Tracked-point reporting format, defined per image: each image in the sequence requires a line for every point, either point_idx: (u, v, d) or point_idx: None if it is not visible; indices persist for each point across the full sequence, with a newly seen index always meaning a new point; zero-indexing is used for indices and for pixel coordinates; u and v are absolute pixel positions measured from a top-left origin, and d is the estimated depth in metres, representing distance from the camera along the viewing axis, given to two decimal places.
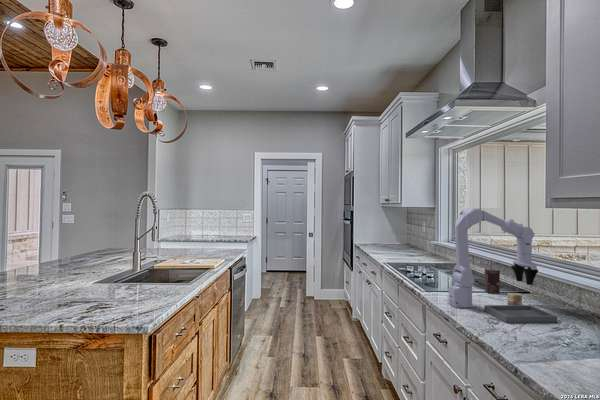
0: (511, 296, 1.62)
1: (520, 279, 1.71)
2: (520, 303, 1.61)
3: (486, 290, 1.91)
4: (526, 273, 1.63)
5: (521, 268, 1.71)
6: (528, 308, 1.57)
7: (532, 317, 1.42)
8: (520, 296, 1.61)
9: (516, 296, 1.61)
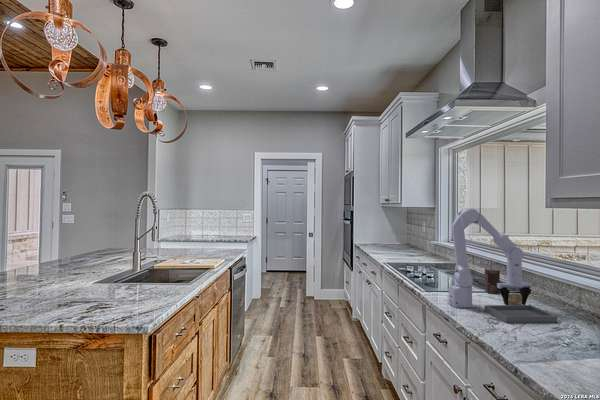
0: (511, 296, 1.62)
1: (522, 302, 1.63)
2: (520, 303, 1.61)
3: (486, 290, 1.91)
4: None
5: (524, 291, 1.62)
6: (528, 308, 1.57)
7: (532, 317, 1.42)
8: (520, 296, 1.61)
9: (516, 296, 1.61)
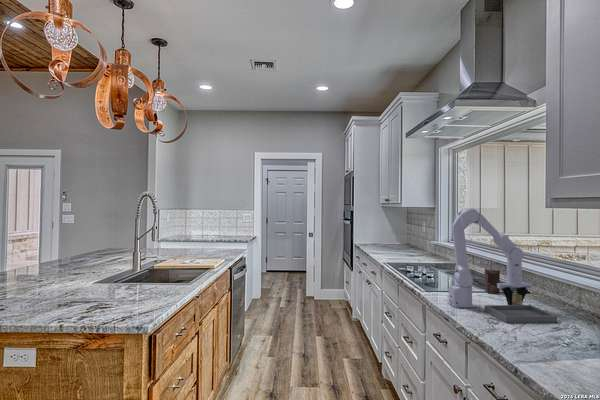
0: None
1: None
2: (520, 303, 1.61)
3: (486, 290, 1.91)
4: None
5: (520, 291, 1.62)
6: (528, 308, 1.57)
7: (532, 317, 1.42)
8: (520, 296, 1.61)
9: (516, 296, 1.61)
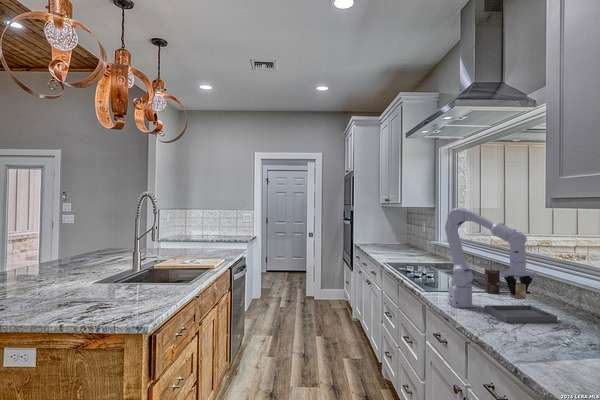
0: None
1: None
2: (524, 293, 1.51)
3: (486, 290, 1.91)
4: None
5: (524, 280, 1.52)
6: (528, 308, 1.57)
7: (532, 317, 1.42)
8: (524, 285, 1.51)
9: (519, 285, 1.51)
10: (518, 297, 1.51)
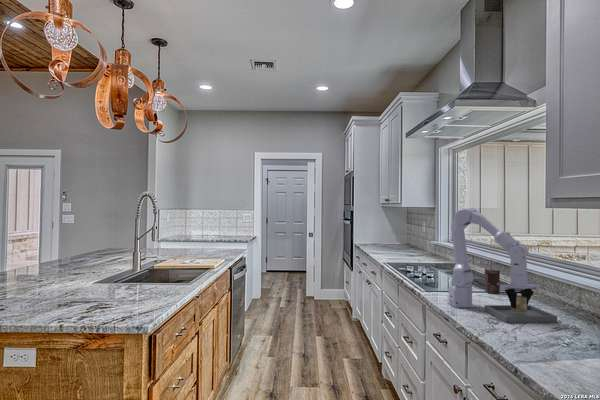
0: None
1: None
2: (525, 306, 1.48)
3: (486, 290, 1.91)
4: None
5: (525, 293, 1.49)
6: (528, 308, 1.57)
7: (532, 317, 1.42)
8: (525, 298, 1.49)
9: (520, 298, 1.49)
10: (519, 310, 1.48)
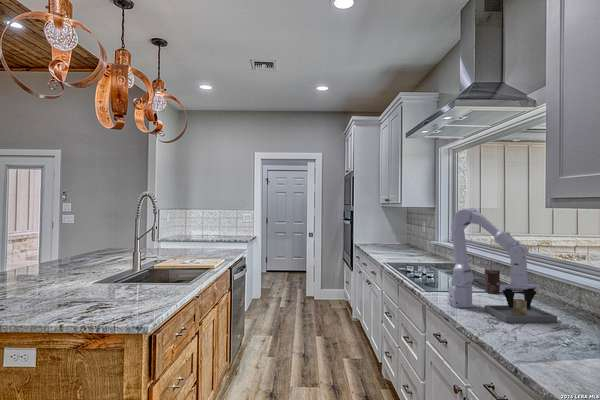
0: (515, 302, 1.49)
1: None
2: (525, 309, 1.48)
3: (486, 290, 1.91)
4: None
5: (528, 293, 1.49)
6: (528, 308, 1.57)
7: (532, 317, 1.42)
8: (525, 302, 1.48)
9: (520, 302, 1.49)
10: (519, 314, 1.48)
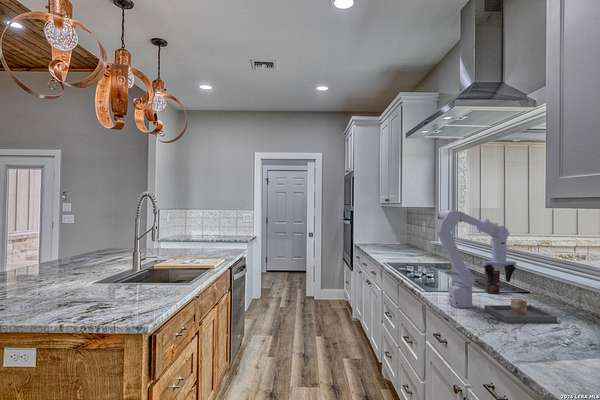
0: (515, 302, 1.49)
1: (507, 279, 1.69)
2: (525, 309, 1.48)
3: (486, 290, 1.91)
4: None
5: (508, 268, 1.68)
6: (528, 308, 1.57)
7: (532, 317, 1.42)
8: (525, 302, 1.48)
9: (520, 302, 1.49)
10: (519, 314, 1.48)
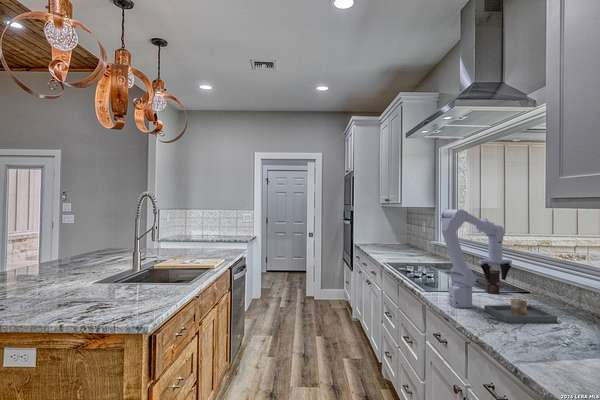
0: (515, 302, 1.49)
1: (503, 277, 1.73)
2: (525, 309, 1.48)
3: (486, 290, 1.91)
4: None
5: (504, 267, 1.73)
6: (528, 308, 1.57)
7: (532, 317, 1.42)
8: (525, 302, 1.48)
9: (520, 302, 1.49)
10: (519, 314, 1.48)
